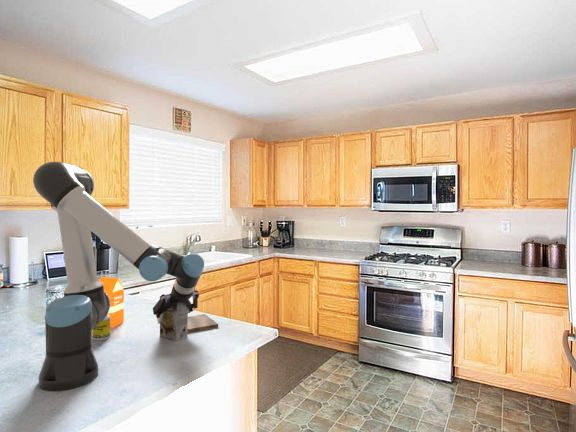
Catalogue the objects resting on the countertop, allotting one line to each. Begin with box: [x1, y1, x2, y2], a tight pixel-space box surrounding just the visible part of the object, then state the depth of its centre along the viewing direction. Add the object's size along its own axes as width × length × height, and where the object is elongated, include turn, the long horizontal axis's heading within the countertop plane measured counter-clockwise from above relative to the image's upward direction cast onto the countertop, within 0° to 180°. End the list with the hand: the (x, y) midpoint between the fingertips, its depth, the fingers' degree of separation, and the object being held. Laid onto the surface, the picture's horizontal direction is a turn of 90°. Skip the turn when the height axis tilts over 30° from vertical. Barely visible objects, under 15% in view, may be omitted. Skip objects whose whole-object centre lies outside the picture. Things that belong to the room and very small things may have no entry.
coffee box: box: [159, 293, 189, 342], centre depth 142 cm, size 9×6×16 cm
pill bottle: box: [92, 314, 111, 341], centre depth 140 cm, size 6×6×11 cm
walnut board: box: [187, 313, 219, 334], centre depth 156 cm, size 16×16×2 cm
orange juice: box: [98, 276, 125, 328], centre depth 157 cm, size 8×9×20 cm
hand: (171, 318), depth 145 cm, fingers closed on coffee box, 9 cm apart
